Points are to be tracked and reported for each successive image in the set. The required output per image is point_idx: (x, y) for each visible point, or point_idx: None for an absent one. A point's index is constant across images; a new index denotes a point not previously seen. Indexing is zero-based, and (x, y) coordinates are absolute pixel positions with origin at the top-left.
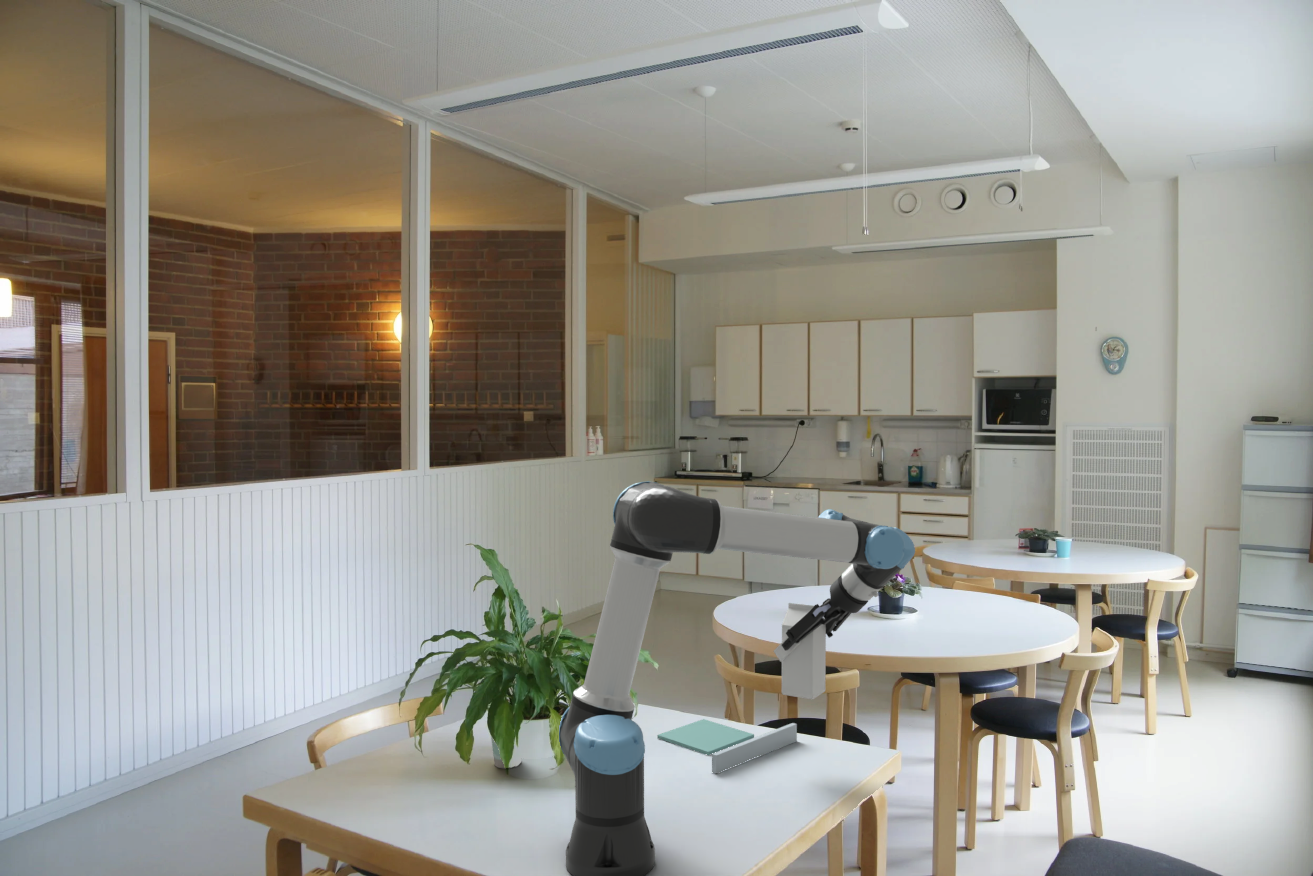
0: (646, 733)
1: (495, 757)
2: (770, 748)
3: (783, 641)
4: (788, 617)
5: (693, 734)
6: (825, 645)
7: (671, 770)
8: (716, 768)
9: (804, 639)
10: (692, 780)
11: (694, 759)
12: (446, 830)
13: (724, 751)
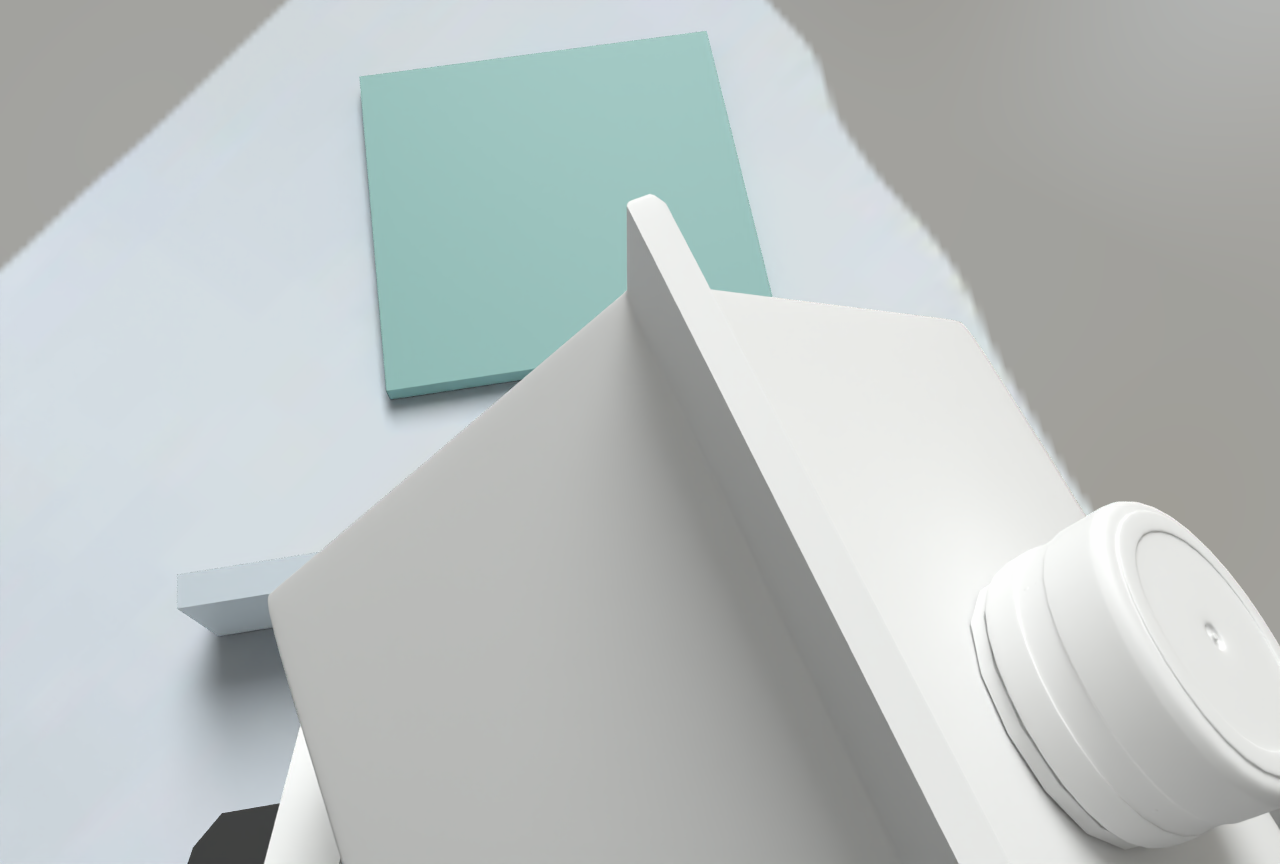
0: (372, 14)
1: None
2: None
3: (289, 777)
4: (439, 575)
5: (508, 162)
6: None
7: (90, 450)
8: (208, 628)
9: None
10: (59, 625)
11: (295, 399)
12: None
13: (266, 585)
